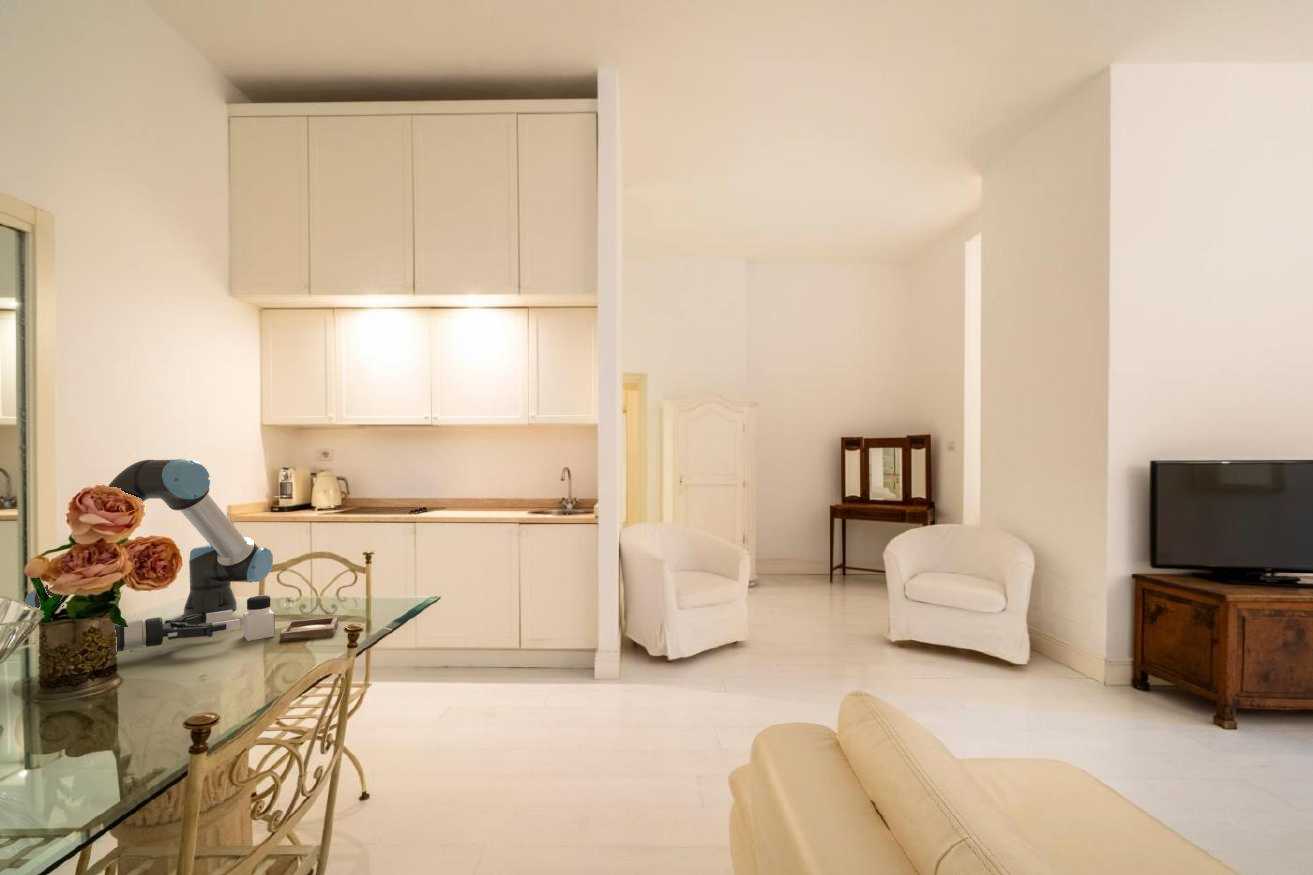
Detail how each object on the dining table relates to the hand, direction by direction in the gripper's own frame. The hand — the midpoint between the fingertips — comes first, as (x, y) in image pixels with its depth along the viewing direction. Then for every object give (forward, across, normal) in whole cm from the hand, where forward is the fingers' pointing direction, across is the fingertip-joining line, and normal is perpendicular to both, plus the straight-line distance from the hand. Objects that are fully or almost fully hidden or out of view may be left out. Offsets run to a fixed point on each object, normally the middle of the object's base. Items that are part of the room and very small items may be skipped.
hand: (236, 619), depth 193 cm
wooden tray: (+18, +6, -6) cm, 20 cm away
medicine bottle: (+6, -1, -7) cm, 9 cm away
